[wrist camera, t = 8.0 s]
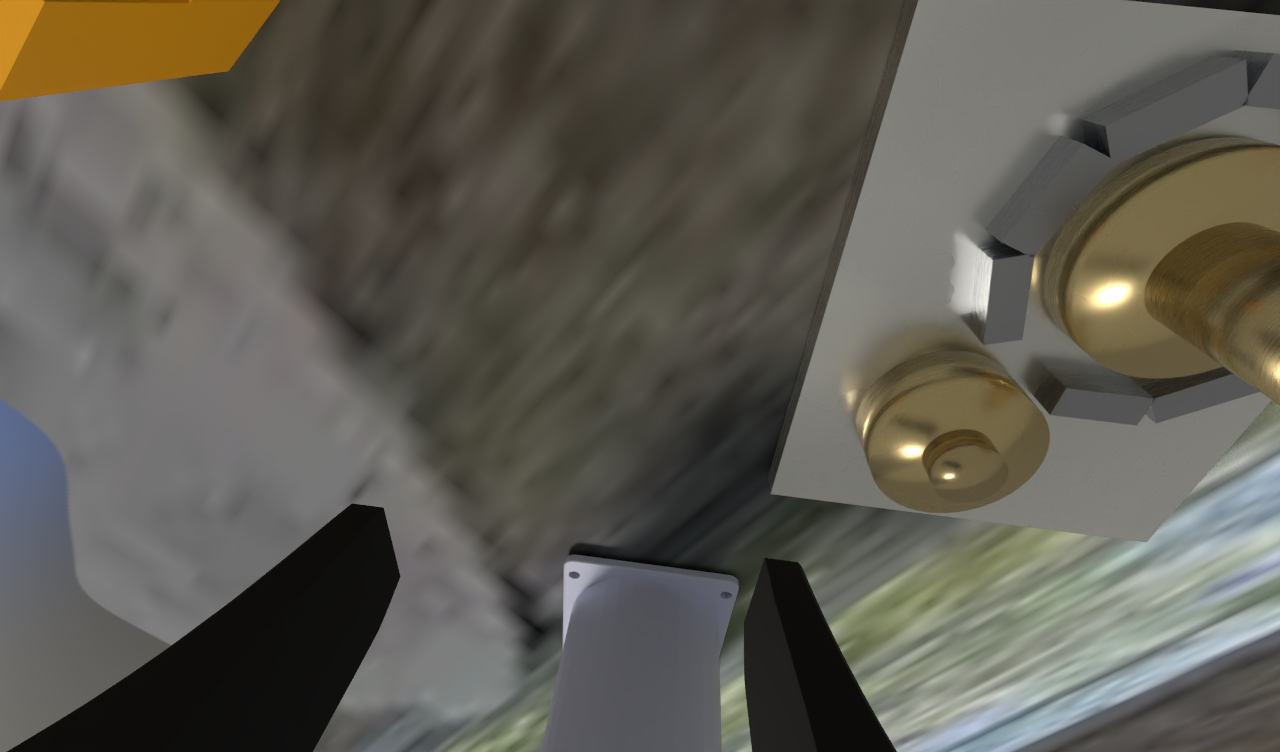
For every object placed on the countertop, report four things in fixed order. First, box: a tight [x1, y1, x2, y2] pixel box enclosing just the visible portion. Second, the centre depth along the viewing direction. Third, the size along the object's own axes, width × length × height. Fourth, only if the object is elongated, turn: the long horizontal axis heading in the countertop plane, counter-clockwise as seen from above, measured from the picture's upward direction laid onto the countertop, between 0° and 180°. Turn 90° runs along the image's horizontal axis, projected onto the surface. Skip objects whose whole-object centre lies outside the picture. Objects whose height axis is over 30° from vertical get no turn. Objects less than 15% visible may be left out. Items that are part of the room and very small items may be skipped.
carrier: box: [768, 0, 1280, 542], centre depth 16 cm, size 16×14×4 cm
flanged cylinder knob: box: [1044, 137, 1280, 405], centre depth 13 cm, size 6×6×6 cm
